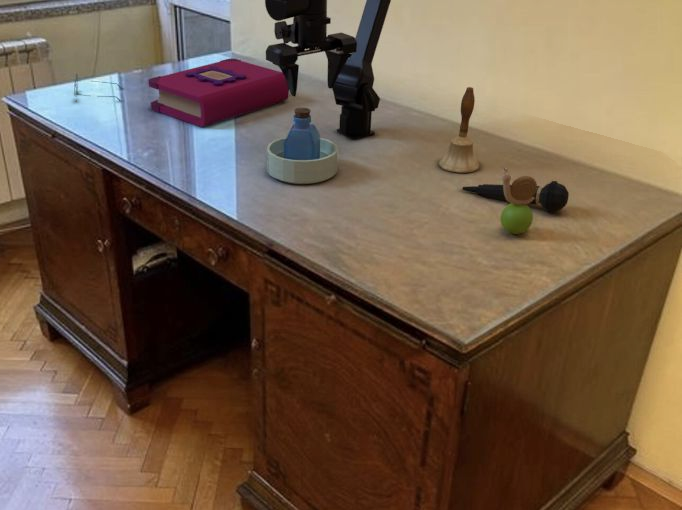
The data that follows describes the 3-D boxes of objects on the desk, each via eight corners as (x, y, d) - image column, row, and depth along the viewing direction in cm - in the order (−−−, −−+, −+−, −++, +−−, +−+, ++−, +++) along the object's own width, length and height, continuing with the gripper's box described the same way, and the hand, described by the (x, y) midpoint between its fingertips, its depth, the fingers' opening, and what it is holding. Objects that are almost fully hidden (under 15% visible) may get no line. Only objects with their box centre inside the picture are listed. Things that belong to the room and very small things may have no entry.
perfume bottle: (314, 175, 155) (315, 116, 148) (283, 173, 156) (283, 114, 149) (319, 164, 160) (320, 106, 153) (290, 161, 160) (290, 104, 154)
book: (289, 102, 194) (289, 71, 190) (204, 129, 178) (202, 96, 173) (232, 84, 206) (231, 55, 202) (148, 108, 189) (145, 77, 185)
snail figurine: (489, 225, 138) (499, 161, 131) (524, 224, 138) (536, 160, 131) (497, 239, 133) (509, 173, 126) (534, 238, 134) (547, 172, 127)
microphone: (459, 208, 150) (564, 220, 141) (456, 185, 146) (563, 195, 137) (469, 191, 153) (572, 201, 144) (466, 167, 149) (572, 176, 139)
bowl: (312, 154, 166) (312, 131, 163) (350, 176, 156) (351, 152, 153) (254, 167, 159) (253, 143, 156) (290, 191, 150) (290, 166, 147)
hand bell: (454, 155, 165) (463, 79, 156) (487, 165, 161) (498, 88, 151) (430, 165, 161) (438, 87, 152) (463, 176, 156) (474, 97, 147)
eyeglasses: (121, 87, 203) (119, 68, 201) (120, 102, 193) (118, 82, 190) (77, 89, 202) (74, 70, 199) (74, 104, 192) (71, 84, 189)
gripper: (327, -2, 160) (326, 74, 169) (249, 9, 152) (253, 90, 161) (360, 8, 152) (357, 87, 161) (280, 21, 144) (281, 104, 153)
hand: (311, 92), depth 159 cm, fingers open, 9 cm apart
